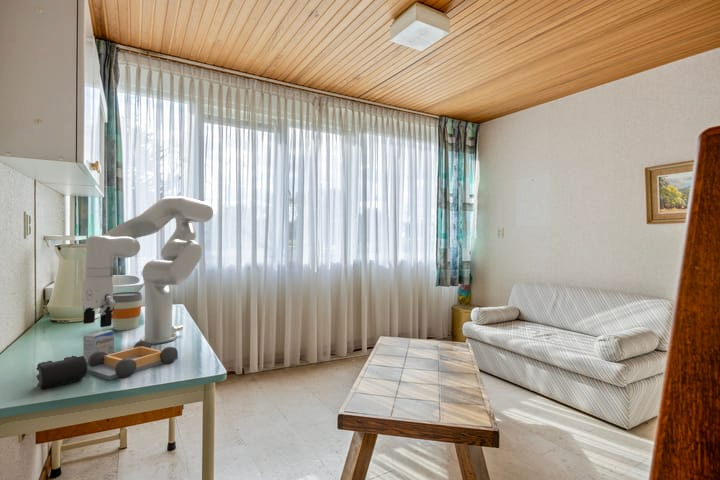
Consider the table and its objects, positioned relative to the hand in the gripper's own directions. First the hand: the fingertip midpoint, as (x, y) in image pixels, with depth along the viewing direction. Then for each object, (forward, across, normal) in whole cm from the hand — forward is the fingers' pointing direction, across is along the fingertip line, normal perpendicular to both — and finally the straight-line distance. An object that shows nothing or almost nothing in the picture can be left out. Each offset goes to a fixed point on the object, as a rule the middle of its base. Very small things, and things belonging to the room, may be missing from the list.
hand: (97, 324), depth 125 cm
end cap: (+12, +13, -16) cm, 24 cm away
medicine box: (+12, 0, +1) cm, 12 cm away
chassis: (+12, +16, +3) cm, 20 cm away
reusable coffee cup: (+11, -34, +30) cm, 47 cm away
